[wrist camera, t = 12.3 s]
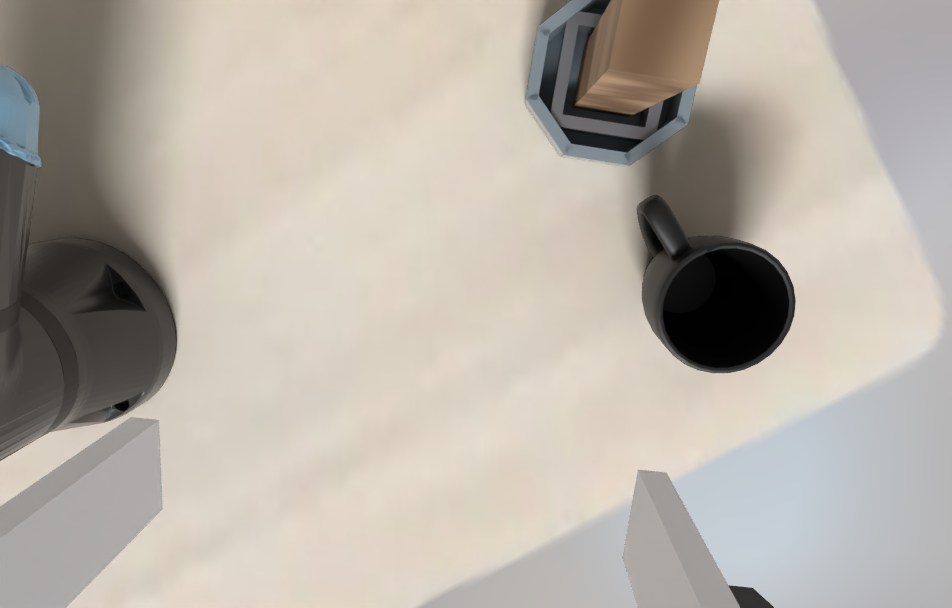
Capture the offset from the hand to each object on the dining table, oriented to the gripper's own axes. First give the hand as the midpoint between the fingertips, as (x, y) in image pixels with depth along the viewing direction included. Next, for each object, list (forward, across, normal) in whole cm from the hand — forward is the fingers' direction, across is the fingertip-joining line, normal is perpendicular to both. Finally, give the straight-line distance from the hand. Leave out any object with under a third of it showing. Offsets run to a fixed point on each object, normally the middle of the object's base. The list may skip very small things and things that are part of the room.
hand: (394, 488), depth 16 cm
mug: (+30, +15, +3) cm, 34 cm away
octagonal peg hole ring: (+30, +9, +15) cm, 35 cm away
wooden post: (+29, +9, +15) cm, 34 cm away
